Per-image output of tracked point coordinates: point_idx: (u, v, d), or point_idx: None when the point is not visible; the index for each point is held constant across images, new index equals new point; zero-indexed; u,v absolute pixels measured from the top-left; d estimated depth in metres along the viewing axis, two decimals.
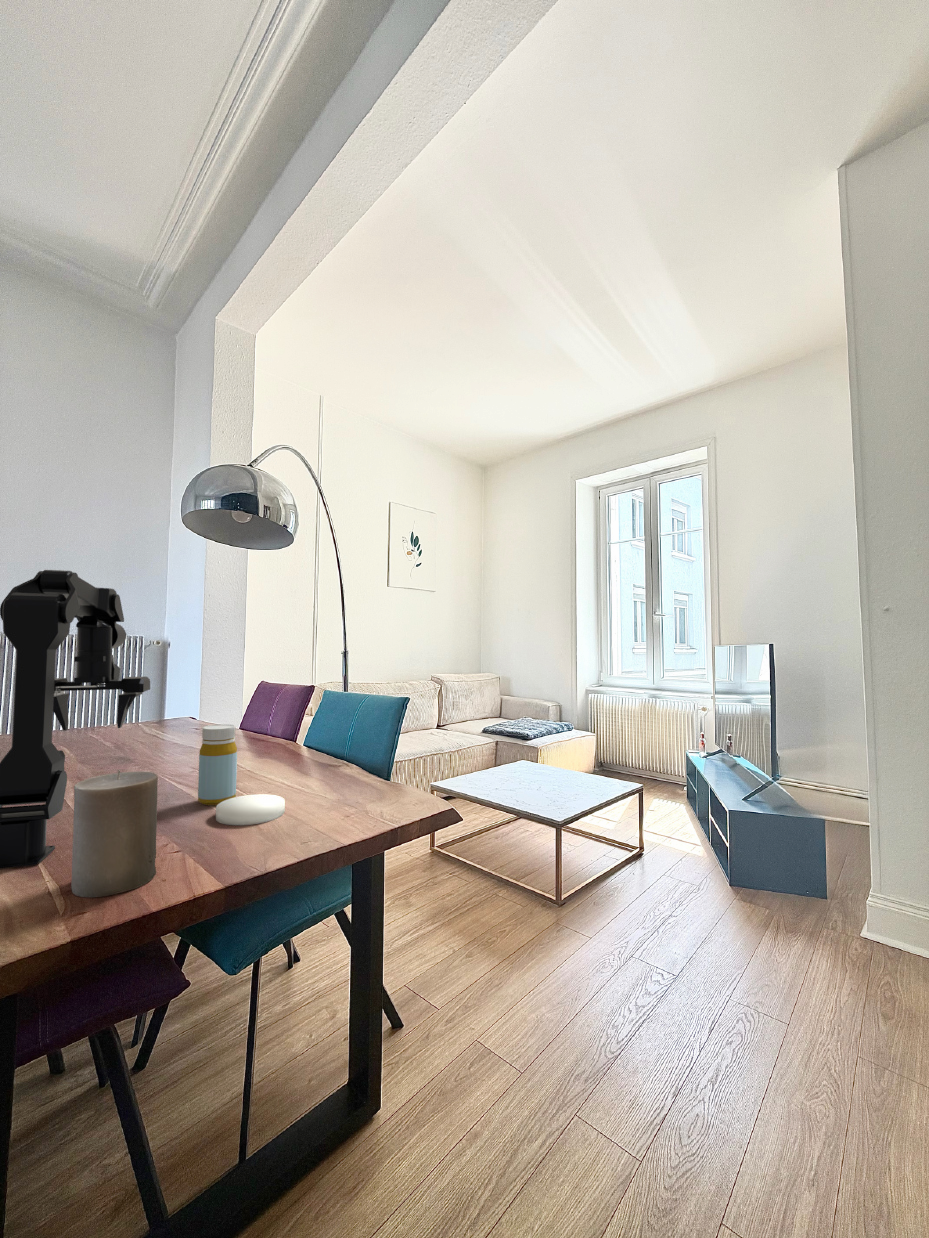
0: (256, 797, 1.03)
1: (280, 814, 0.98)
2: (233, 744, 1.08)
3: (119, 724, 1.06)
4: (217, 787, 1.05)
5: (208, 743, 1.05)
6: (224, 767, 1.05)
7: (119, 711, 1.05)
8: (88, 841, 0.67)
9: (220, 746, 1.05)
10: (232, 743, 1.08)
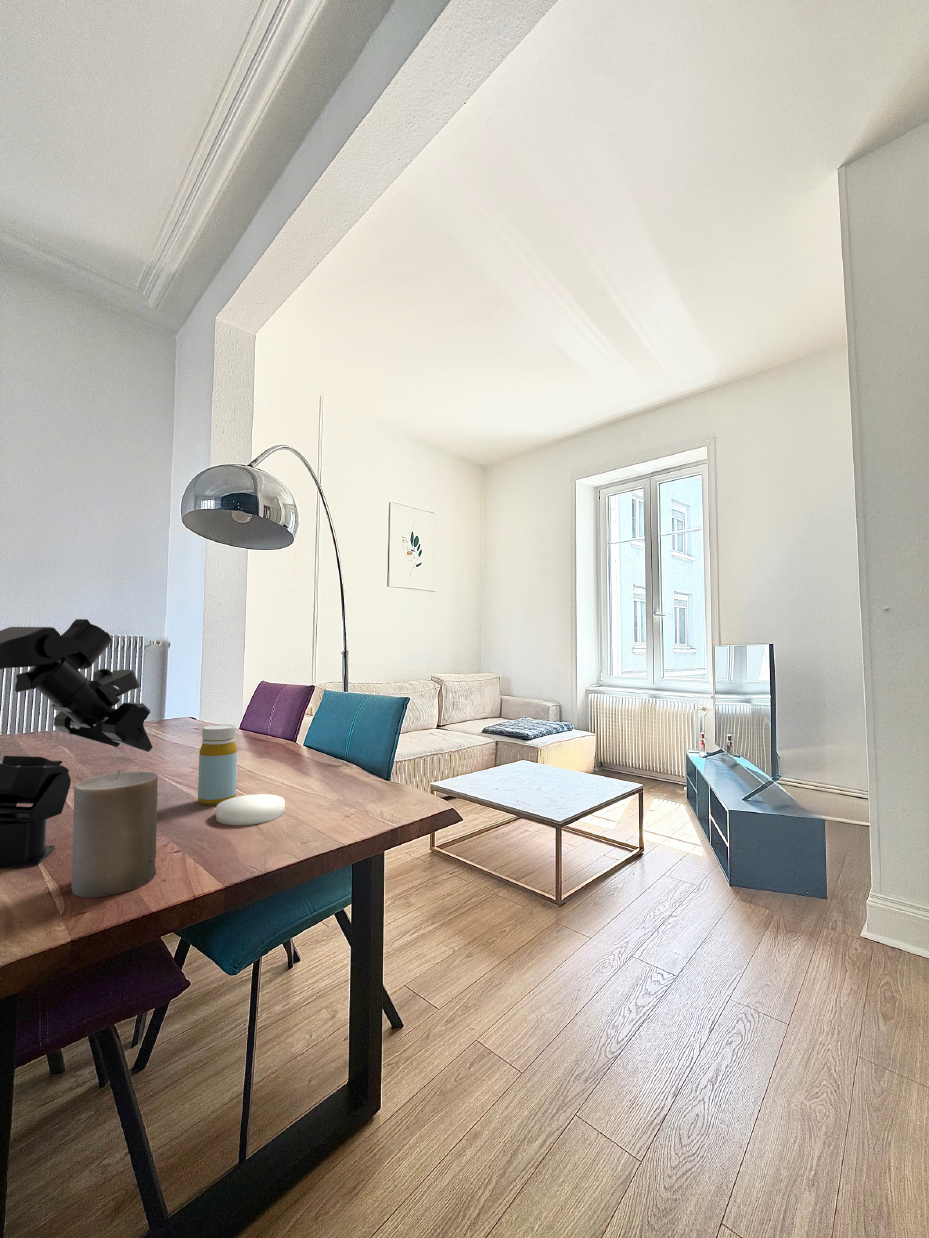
0: (256, 797, 1.03)
1: (280, 814, 0.98)
2: (233, 744, 1.08)
3: (144, 750, 0.91)
4: (217, 787, 1.05)
5: (208, 743, 1.05)
6: (224, 767, 1.05)
7: None
8: (88, 841, 0.67)
9: (220, 746, 1.05)
10: (232, 743, 1.08)
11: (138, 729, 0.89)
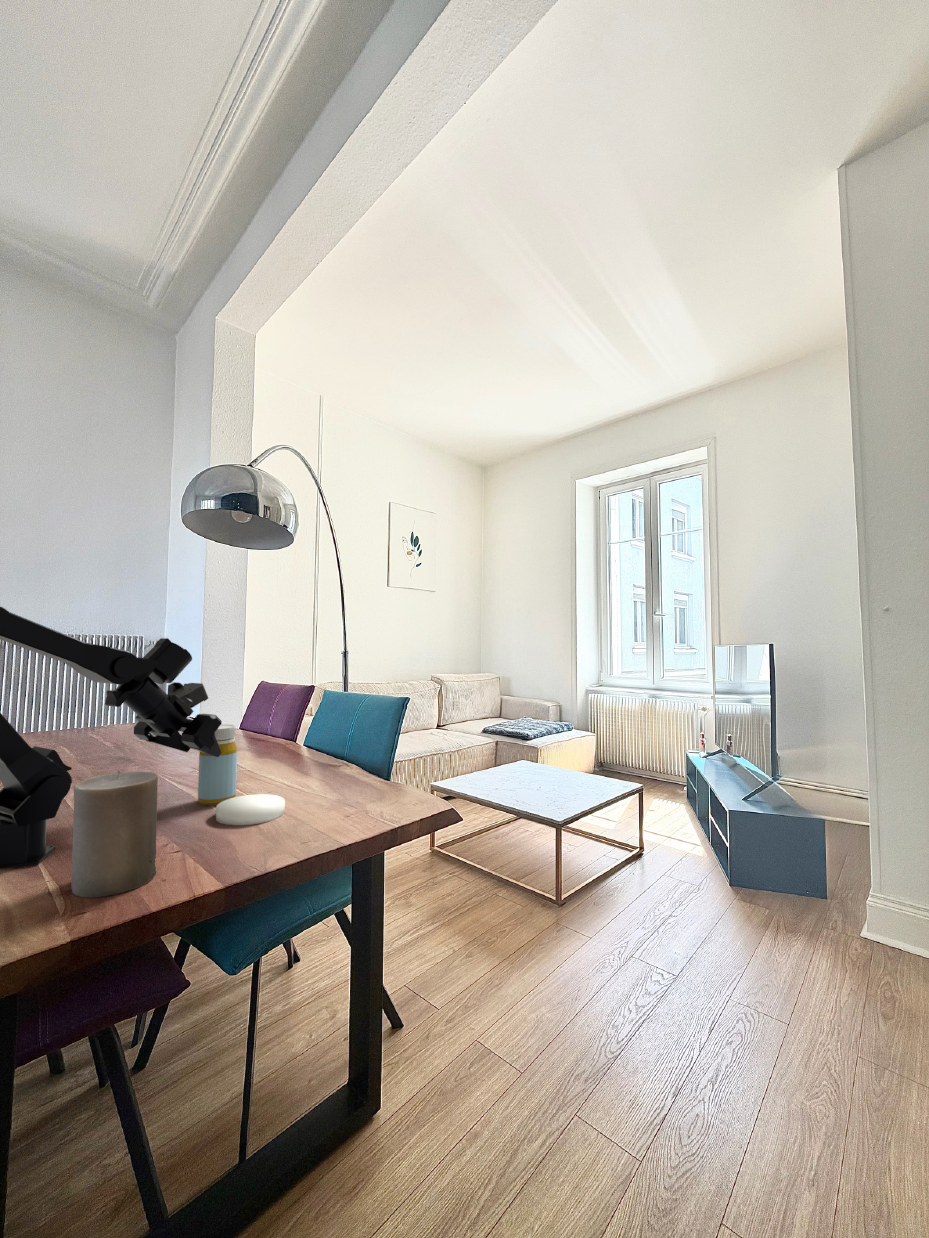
0: (256, 797, 1.03)
1: (280, 814, 0.98)
2: (233, 744, 1.08)
3: None
4: (217, 787, 1.05)
5: None
6: (224, 767, 1.05)
7: (203, 752, 0.99)
8: (88, 841, 0.67)
9: (220, 746, 1.05)
10: (232, 743, 1.08)
11: (210, 737, 1.00)
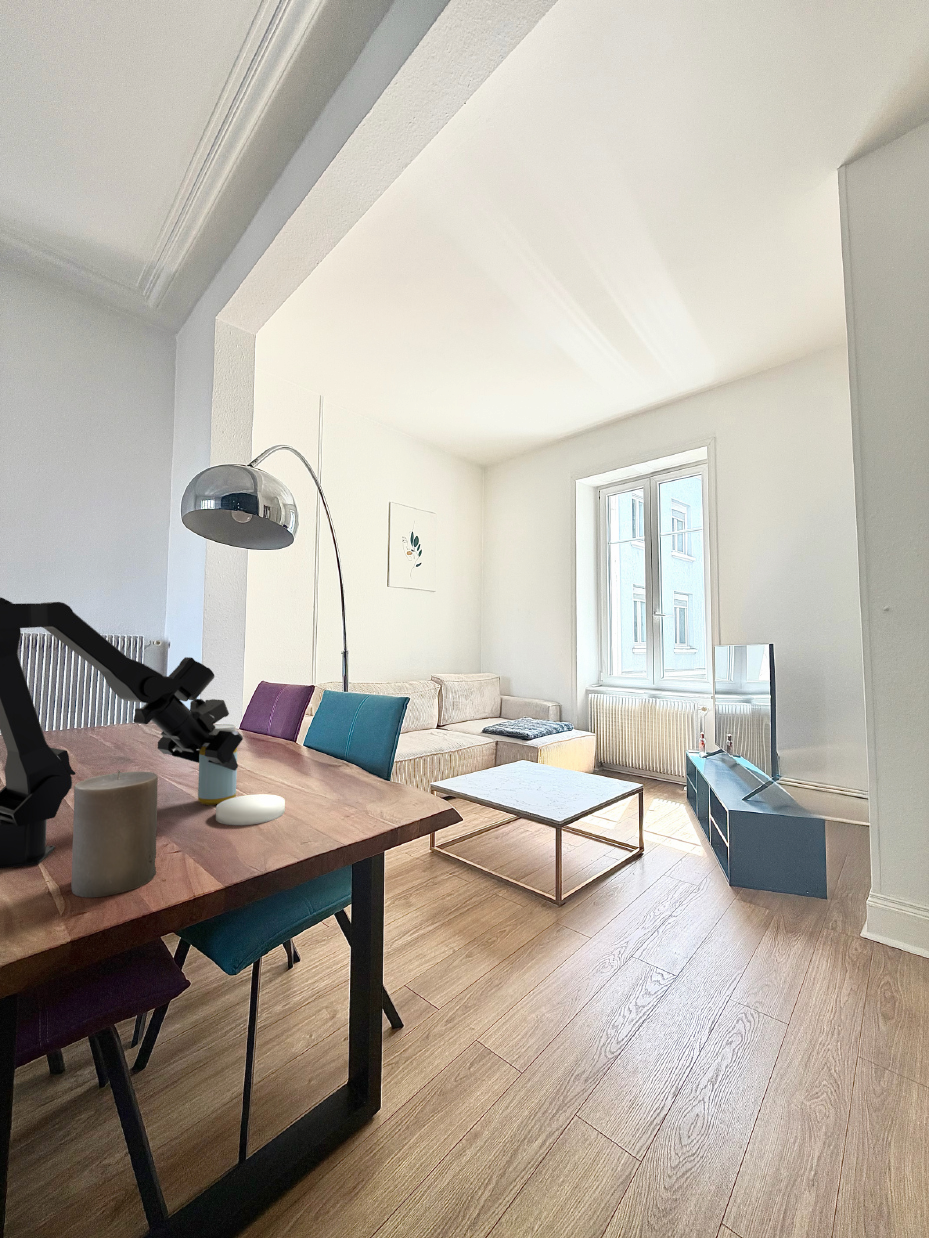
0: (256, 797, 1.03)
1: (280, 814, 0.98)
2: None
3: (232, 769, 1.06)
4: (217, 786, 1.05)
5: None
6: None
7: (221, 766, 1.04)
8: (88, 841, 0.67)
9: None
10: None
11: None
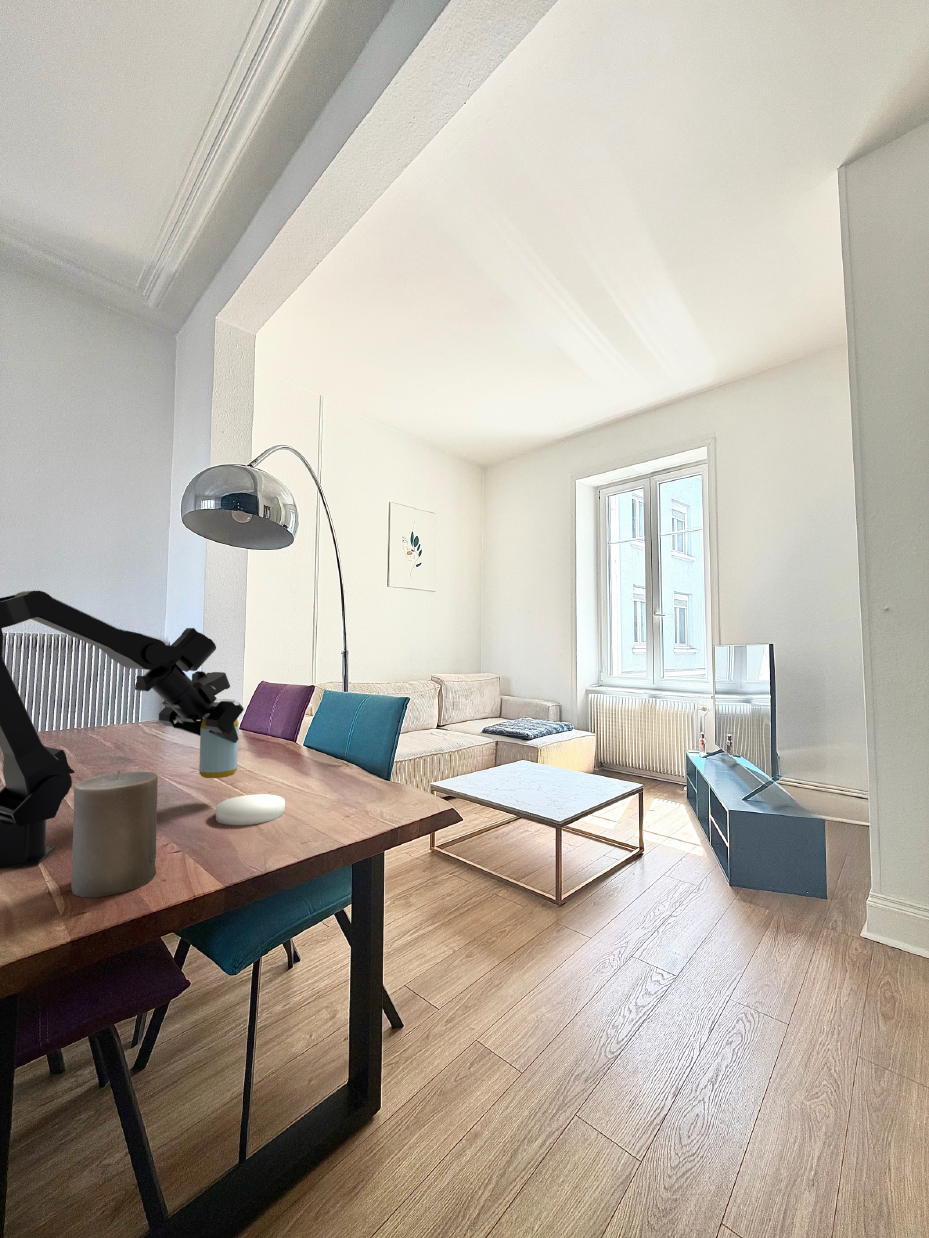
0: (256, 797, 1.03)
1: (280, 814, 0.98)
2: None
3: (232, 741, 1.06)
4: (219, 760, 1.05)
5: None
6: (225, 740, 1.05)
7: (222, 737, 1.04)
8: (88, 841, 0.67)
9: None
10: None
11: None
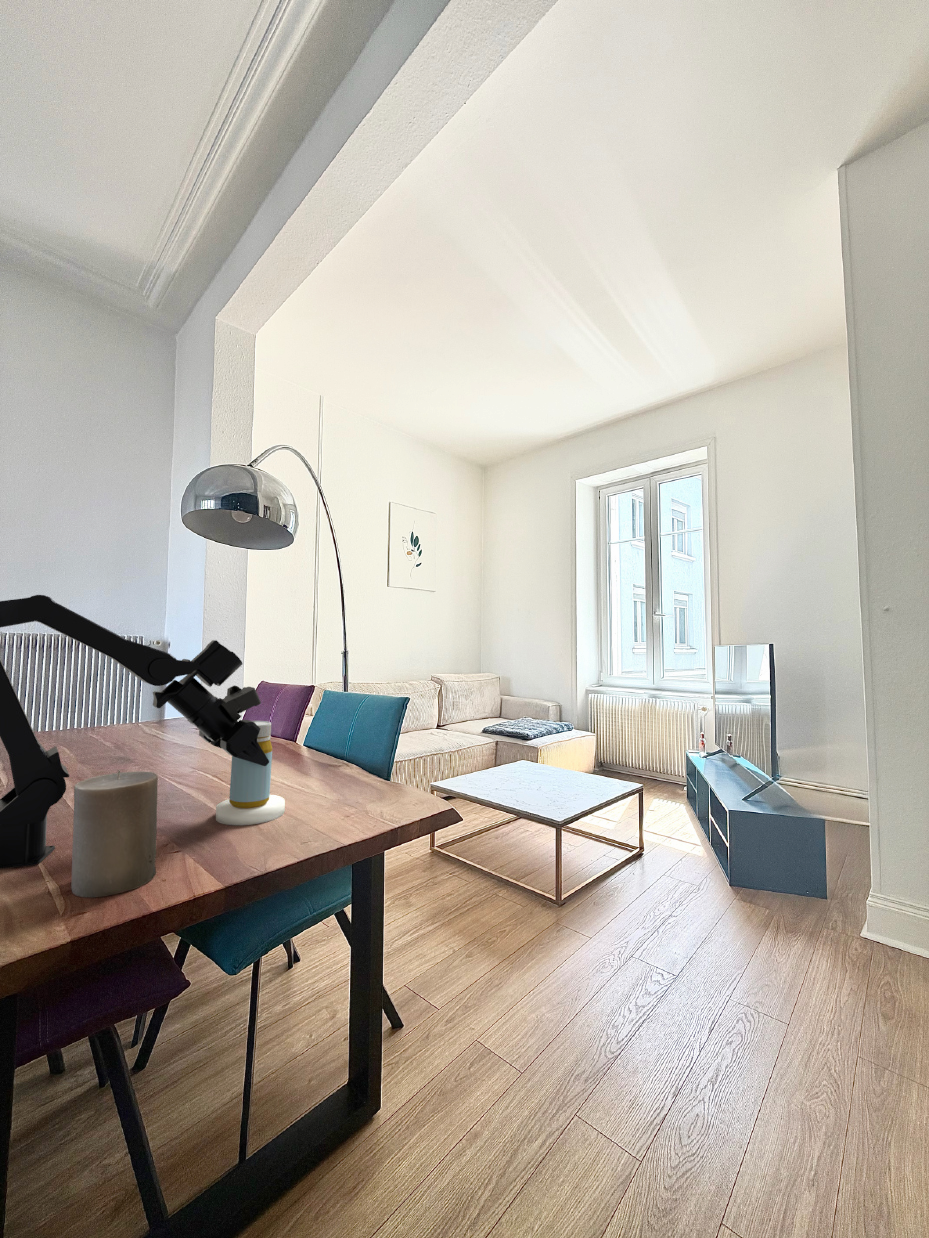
0: None
1: (280, 814, 0.98)
2: (265, 743, 0.98)
3: None
4: (243, 788, 0.96)
5: None
6: (251, 768, 0.96)
7: None
8: (88, 841, 0.67)
9: None
10: (263, 742, 0.98)
11: (253, 745, 0.95)
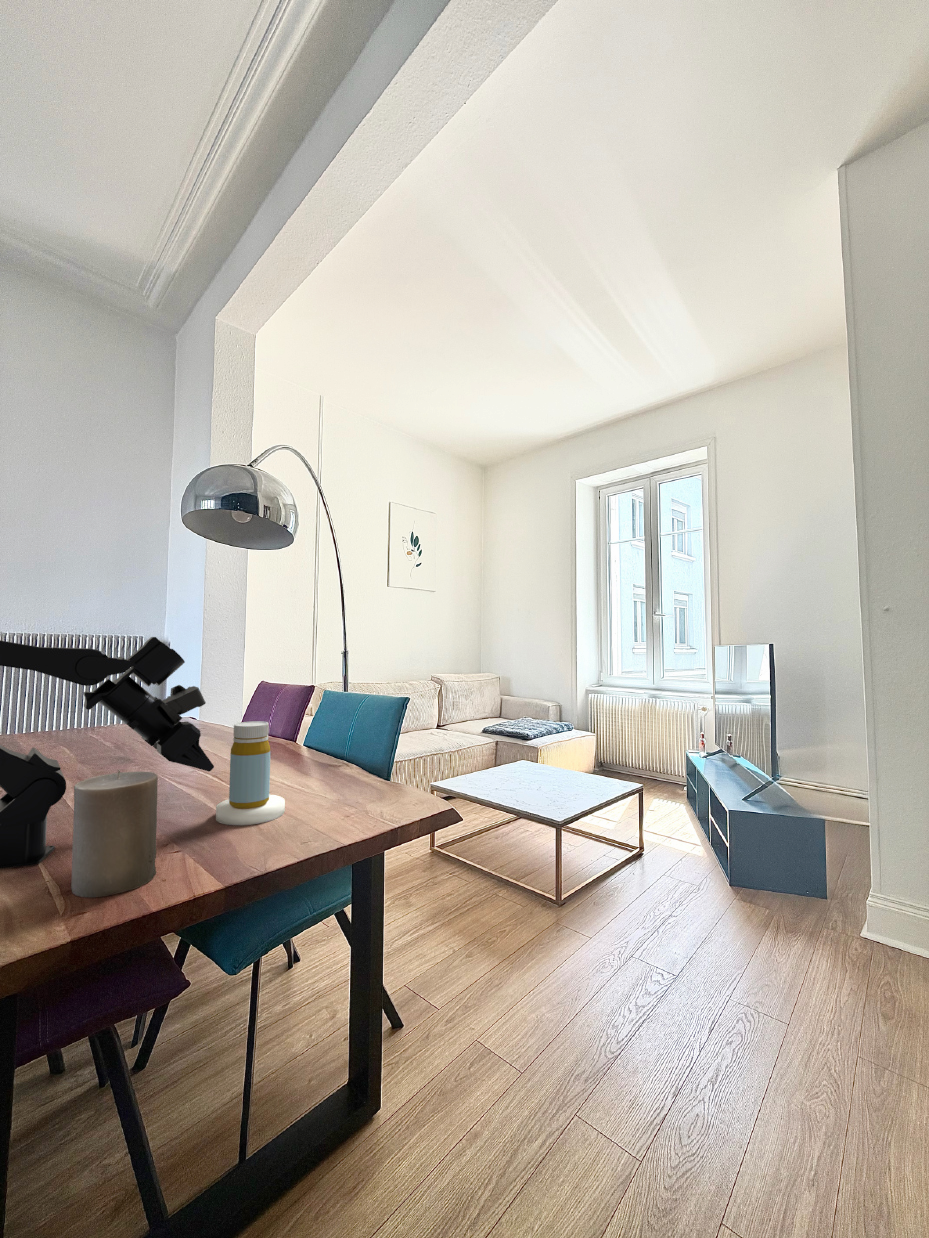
0: None
1: (280, 814, 0.98)
2: (263, 744, 0.98)
3: (205, 770, 0.90)
4: (243, 789, 0.96)
5: (235, 741, 0.97)
6: (250, 768, 0.96)
7: None
8: (88, 841, 0.67)
9: (246, 745, 0.97)
10: (261, 743, 0.98)
11: (195, 749, 0.88)
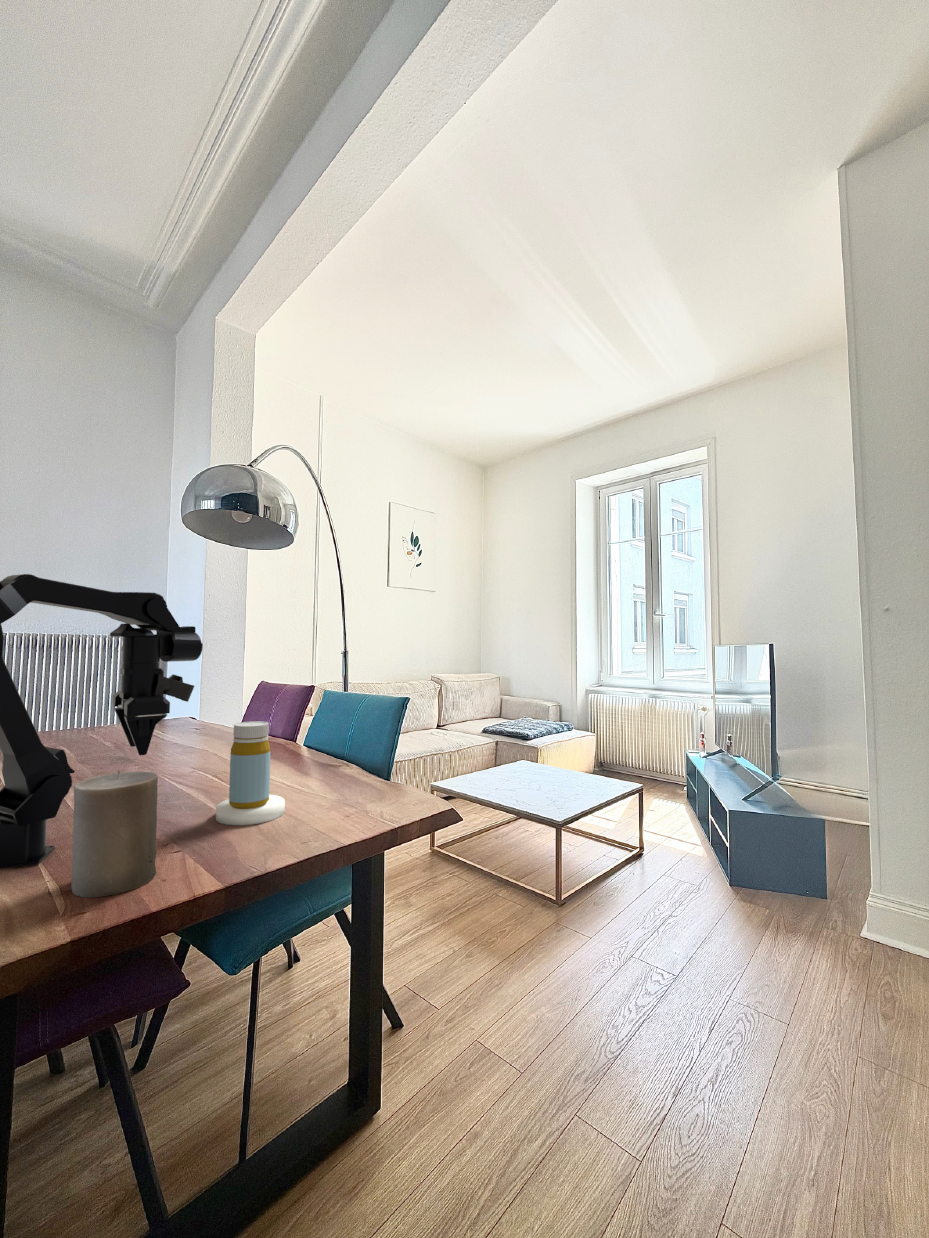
0: None
1: (280, 814, 0.98)
2: (263, 744, 0.98)
3: (137, 750, 0.90)
4: (243, 789, 0.96)
5: (235, 741, 0.97)
6: (250, 768, 0.96)
7: (131, 735, 0.89)
8: (88, 841, 0.67)
9: (246, 745, 0.97)
10: (261, 743, 0.98)
11: (149, 726, 0.90)
